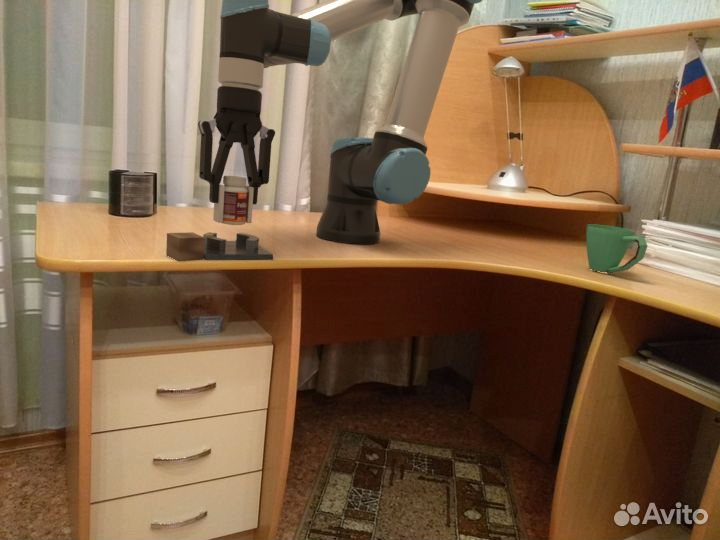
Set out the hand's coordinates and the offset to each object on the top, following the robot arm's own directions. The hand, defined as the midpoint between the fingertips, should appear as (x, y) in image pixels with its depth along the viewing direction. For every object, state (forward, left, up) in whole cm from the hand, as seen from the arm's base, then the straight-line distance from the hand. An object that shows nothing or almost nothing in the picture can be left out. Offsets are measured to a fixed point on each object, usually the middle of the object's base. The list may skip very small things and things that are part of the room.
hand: (232, 221), depth 99 cm
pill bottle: (0, 0, -1) cm, 1 cm away
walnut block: (+9, +4, -6) cm, 12 cm away
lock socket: (0, 0, -6) cm, 6 cm away
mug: (-79, +22, -6) cm, 82 cm away
